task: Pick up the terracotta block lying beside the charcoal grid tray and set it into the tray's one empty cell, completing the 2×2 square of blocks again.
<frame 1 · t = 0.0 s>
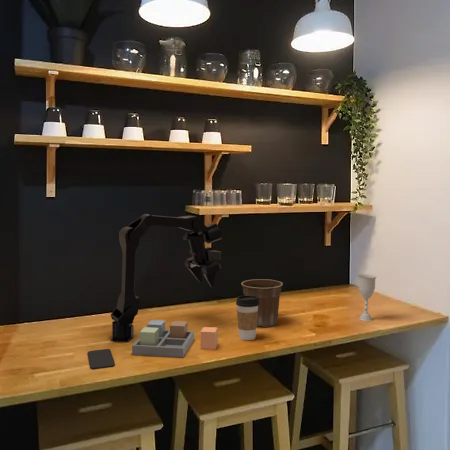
hand: (206, 284, 181), 15 cm above the bar counter, tool pointing down, fingers open, 9 cm apart
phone: (100, 360, 145), on the bar counter
coffee cup: (247, 337, 166), on the bar counter
terracotta block: (209, 346, 157), on the bar counter
chalice: (365, 319, 188), on the bar counter
plant pot: (261, 323, 183), on the bar counter
grid tray: (164, 346, 156), on the bar counter
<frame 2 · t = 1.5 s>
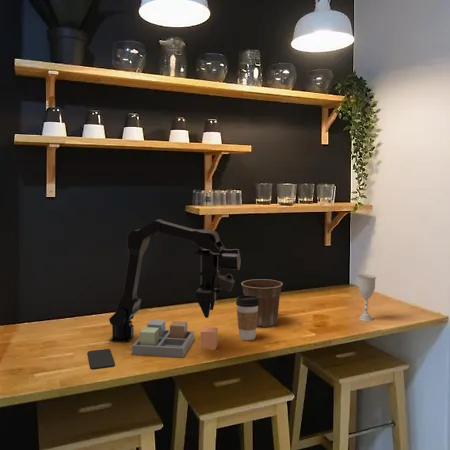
hand: (209, 313, 156), 11 cm above the bar counter, tool pointing down, fingers open, 9 cm apart
nothing on the bar counter moved.
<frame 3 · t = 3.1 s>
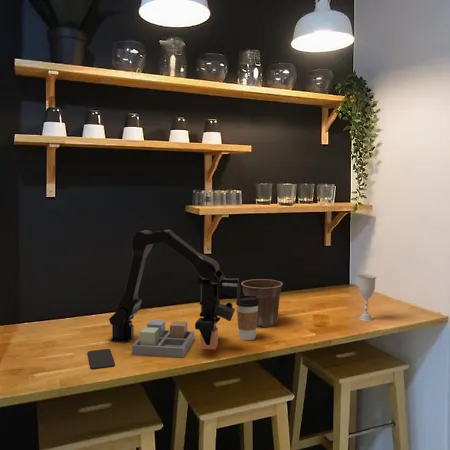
hand: (209, 342, 156), 2 cm above the bar counter, tool pointing down, fingers closed on terracotta block, 5 cm apart
terracotta block: (209, 346, 157), on the bar counter, touching gripper
everything else where it was.
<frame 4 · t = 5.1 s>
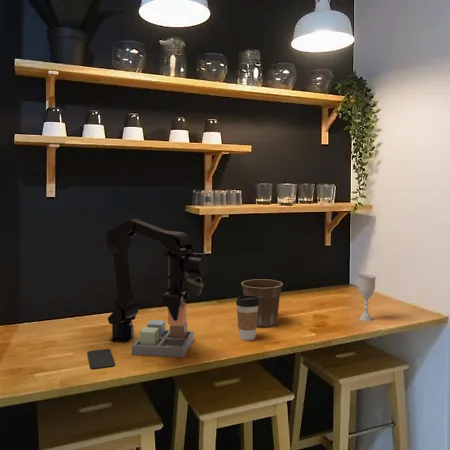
hand: (177, 318, 151), 11 cm above the bar counter, tool pointing down, fingers closed on terracotta block, 5 cm apart
terracotta block: (177, 322, 152), point 10 cm above the bar counter, touching gripper
everything else where it was.
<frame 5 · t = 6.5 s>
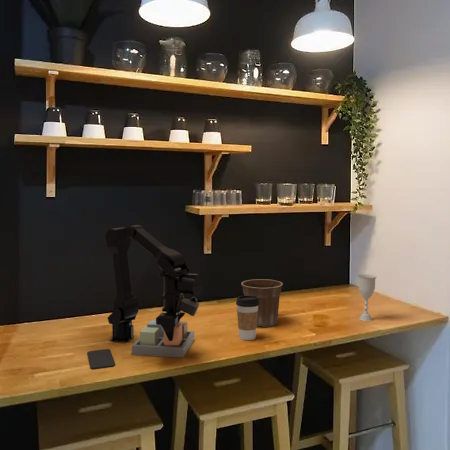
hand: (172, 338, 151), 5 cm above the bar counter, tool pointing down, fingers closed on terracotta block, 5 cm apart
terracotta block: (173, 342, 151), point 3 cm above the bar counter, touching gripper
everything else where it was.
when the fingers open (4 cm above the bar counter, at t = 7.4 s): terracotta block drops 1 cm, resting on grid tray.
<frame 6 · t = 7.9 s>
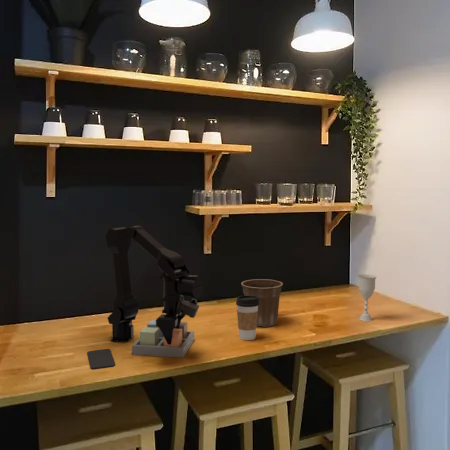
hand: (172, 340, 151), 4 cm above the bar counter, tool pointing down, fingers open, 8 cm apart
terracotta block: (173, 348, 152), point 1 cm above the bar counter, touching grid tray
everything else where it was.
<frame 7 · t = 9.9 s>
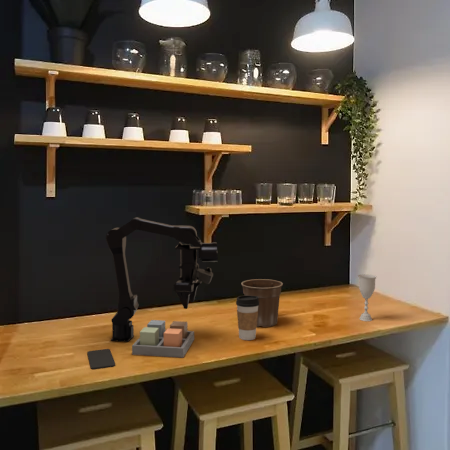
hand: (189, 305, 163), 12 cm above the bar counter, tool pointing down, fingers open, 9 cm apart
nothing on the bar counter moved.
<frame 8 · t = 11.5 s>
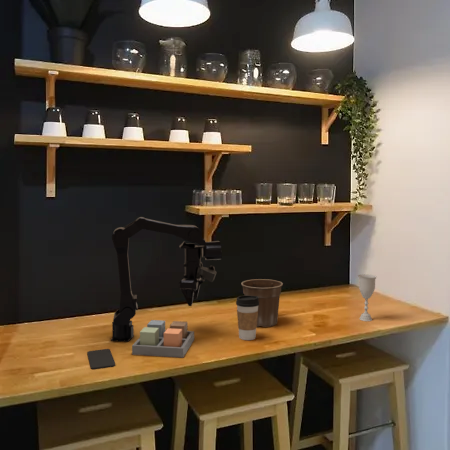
hand: (192, 302, 167), 12 cm above the bar counter, tool pointing down, fingers open, 9 cm apart
nothing on the bar counter moved.
at the end: terracotta block 0.0 cm from the target spot on the grid tray, point 1.0 cm above the grid tray's base; terracotta block tilted 0°; the gripper is holding nothing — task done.
